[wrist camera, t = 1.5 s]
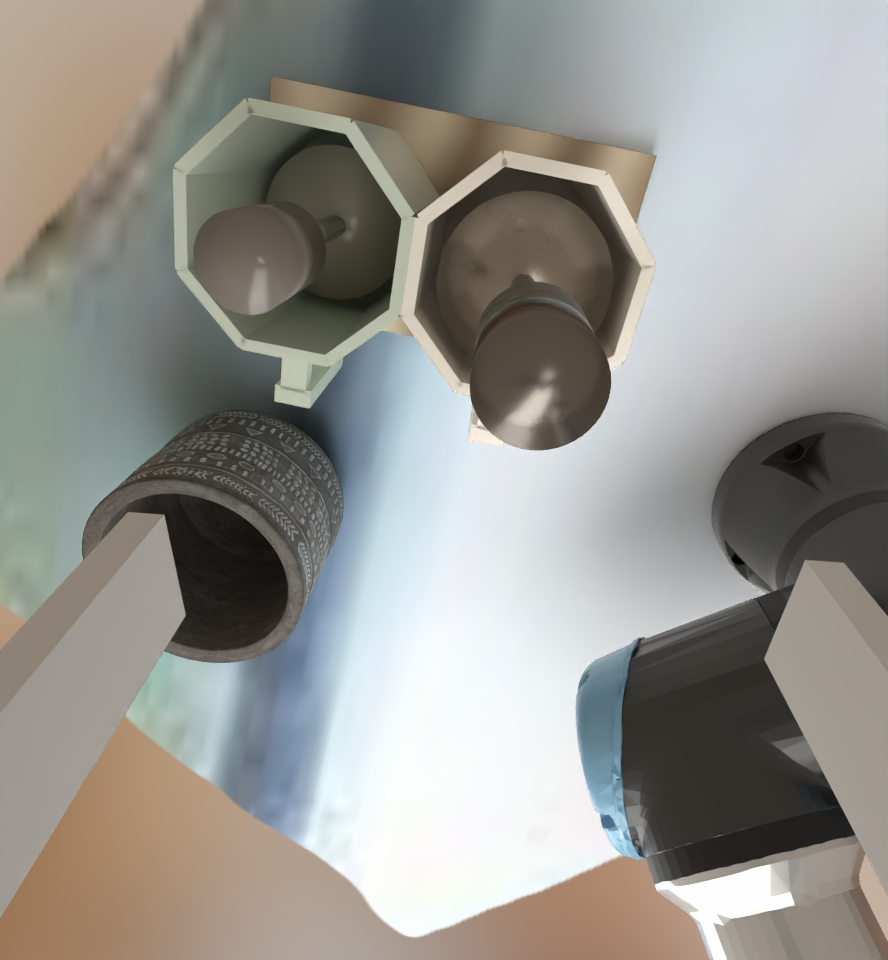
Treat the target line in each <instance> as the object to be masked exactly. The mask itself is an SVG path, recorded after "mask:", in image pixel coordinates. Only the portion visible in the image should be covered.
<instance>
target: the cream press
mask: <svg viewBox="0 0 888 960" xmlns="http://www.w3.org/2000/svg"><path fill="white" fill-rule="evenodd" d="M520 190H535V191H543V192H547V193H551V194H554V195H557V196H560V197H562V198H564V199H566V200H568V201H570V202H571V203H573V204H574V205H576V206H577V207H579V208H580V209H581V210H582V211H584V212H585V213H586V214H587V215H588V216H589V217H590V218H591V219H592V221H593V222H594V223H595V224H596V225H597V227H598V228H599V230H600V232H601V233H602V235H603V237H604V239H605V241H606V243H607V246H608V249H609V252H610V256H611V260H612V267H613V288H612V295H611V299H610V304H609V307H608V310H607V312H606V315H605V317H604V319H603V321H602V323H601V325H600V327H599V328H598V330H597V331H596V333H595V335H596V337H597V339H598V341H599V343H600V345H601V347H602V348H603V350H604V352H605V355H606V357H607V360H608V363H609V366H610V371H611V370H613V369H614V368H616V367H618V366H619V365H621V364H623V362H622V360H624V361H625V360H626V357H627V354H628V351H629V348H630V345H631V342H632V339H633V336H634V333H635V330H636V327H637V324H638V321H639V317H640V314H641V311H642V308H643V305H644V302H645V299H646V296H647V293H648V290H649V287H650V284H651V281H652V278H653V275H654V272H655V269H656V266H654V264H656V262H655V260H654V259H653V257H652V255H651V253H650V251H649V249H648V247H647V245H646V243H645V241H644V239H643V237H642V236H641V234H640V232H639V230H638V228H637V226H636V224H635V222H634V220H633V218H632V216H631V214H630V212H629V211H628V209H627V207H626V205H625V203H624V201H623V199H622V197H621V195H620V193H619V191H618V189H617V188H616V186H615V184H614V182H613V180H612V178H611V176H610V174H609V173H606V171H603V170H598V169H594V168H589V167H584V166H579V165H574V164H569V163H564V162H560V161H555V160H550V159H545V158H540V157H535V156H530V155H526V154H521V153H516V152H511V151H506V150H504V154H502V152H501V151H500V152H499V153H497V154H496V155H495V156H493V157H492V158H491V159H489V160H488V161H487V162H485V163H484V164H483V165H482V166H480V167H479V168H478V169H476V170H475V171H474V172H472V173H471V174H470V175H468V176H467V177H466V178H464V179H463V180H462V181H460V182H459V183H458V184H457V185H455V186H454V187H453V188H451V189H450V190H449V191H447V192H446V193H445V194H443V195H442V196H441V197H439V198H438V199H437V200H435V201H434V202H433V203H432V204H430V205H429V206H428V207H426V208H425V209H424V210H422V211H421V212H420V213H418V214H417V215H418V216H417V217H415V223H414V230H413V237H412V244H411V250H410V257H409V264H408V271H407V277H406V284H405V291H404V298H403V305H402V311H401V315H402V316H403V317H402V320H403V321H404V322H405V324H406V325H407V327H408V328H409V329H410V331H411V332H412V334H413V335H414V337H415V338H416V339H417V341H418V342H419V344H420V345H421V347H422V348H423V349H424V351H425V352H426V354H427V355H428V356H429V358H430V359H431V361H432V362H433V364H434V365H435V366H436V368H437V369H438V371H439V372H440V374H441V375H442V376H443V378H444V379H445V381H446V382H447V383H448V385H449V386H450V388H451V389H452V391H455V390H456V393H458V394H463V395H468V396H470V376H471V369H472V362H473V357H472V356H471V355H469V354H468V353H467V352H466V351H465V350H464V349H462V348H461V347H460V346H459V345H458V343H457V342H456V341H455V340H454V338H453V337H452V336H451V334H450V332H449V331H448V329H447V327H446V325H445V323H444V321H443V318H442V316H441V312H440V309H439V305H438V299H437V287H436V281H437V271H438V266H439V262H440V258H441V255H442V253H443V250H444V247H445V245H446V243H447V241H448V239H449V238H450V236H451V234H452V233H453V231H454V230H455V229H456V227H457V226H458V224H459V223H460V222H461V221H462V220H463V219H464V218H465V217H466V216H467V215H468V214H469V213H470V212H471V211H472V210H474V209H475V208H476V207H478V206H479V205H481V204H482V203H484V202H485V201H487V200H489V199H491V198H494V197H496V196H498V195H502V194H505V193H508V192H514V191H520ZM468 440H469V441H474V442H479V443H484V444H489V445H494V446H499V447H503V446H504V442H503V441H501V440H499V439H498V438H497V437H495V436H494V435H493V434H491V433H490V432H489V431H488V430H487V429H486V428H485V426H484V425H483V424H482V423H481V421H480V420H479V418H478V416H477V415H476V412H475V410H474V408H473V405H472V412H471V420H470V428H469V436H468Z"/></svg>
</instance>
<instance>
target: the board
mask: <svg viewBox="0 0 888 960" xmlns="http://www.w3.org/2000/svg"><path fill="white" fill-rule="evenodd" d="M270 102H273V103H278V104H282V105H287V106H292V107H297V108H302V109H307V110H312V111H316V112H321V113H326V114H331V115H336V116H341V117H346V118H350V119H354V120H358V121H362V122H366V123H370V124H374V125H378V126H381V127H385V128H389V129H393V130H397V132H400V134H401V136H402V137H403V139H404V140H405V142H406V144H407V145H408V147H409V148H410V150H411V152H412V153H413V154H414V155H415V156H416V158H417V159H418V160H419V162H420V163H421V165H422V166H423V168H424V170H425V172H426V173H427V175H428V178H429V180H430V182H431V183H432V185H433V187H434V188H435V190H436V191H437V193H438V194H439V196H440V197H441V196H442V195H443V194H445V193H446V192H447V191H449V190H450V189H451V188H453V187H454V186H455V185H457V184H458V183H459V182H460V181H462V180H463V179H464V178H466V177H467V176H468V175H470V174H471V173H472V172H474V171H475V170H476V169H478V168H479V167H480V166H482V165H483V164H484V163H485V162H487V161H488V160H489V159H491V158H492V157H493V156H495V155H496V154H497V153H499V152H500V151H501V152H502V154H504V150H506V151H511V152H516V153H521V154H526V155H530V156H535V157H540V158H545V159H550V160H555V161H560V162H564V163H569V164H574V165H579V166H584V167H589V168H594V169H598V170H603V171H606V173H609V174H610V176H611V178H612V180H613V182H614V184H615V186H616V188H617V189H618V191H619V193H620V195H621V197H622V199H623V201H624V203H625V205H626V207H627V209H628V211H629V212H630V214H631V216H632V218H633V220H634V222H635V224H636V222H637V218H638V215H639V212H640V208H641V205H642V202H643V199H644V195H645V192H646V189H647V185H648V182H649V179H650V176H651V172H652V169H653V166H654V162H655V159H656V155H651V154H646V153H641V152H637V151H632V150H627V149H622V148H617V147H612V146H607V145H603V144H598V143H593V142H588V141H583V140H578V139H573V138H569V137H564V136H559V135H554V134H549V133H544V132H539V131H535V130H530V129H525V128H520V127H515V126H510V125H505V124H501V123H496V122H491V121H486V120H481V119H476V118H472V117H467V116H462V115H457V114H452V113H447V112H442V111H438V110H433V109H428V108H423V107H418V106H413V105H408V104H404V103H399V102H394V101H389V100H384V99H379V98H374V97H370V96H365V95H360V94H355V93H350V92H345V91H340V90H336V89H331V88H326V87H321V86H316V85H311V84H307V83H302V82H297V81H292V80H287V79H282V78H277V77H273V76H271V82H270ZM402 317H403V316H402V315H401V316H400V318H398V319H397V320H396V321H394V322H393V323H391V324H390V325H388V326H387V327H386V328H384V329H383V331H388V332H393V333H398V334H403V335H408V336H413V337H414V335H413V334H412V332H411V331H410V329H409V328H408V327H407V325H406V324H405V322H404V321H403V320H402Z"/></svg>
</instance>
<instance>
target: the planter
mask: <svg viewBox="0 0 888 960" xmlns="http://www.w3.org/2000/svg"><path fill="white" fill-rule="evenodd" d="M343 508H344V502H343V493H342V488H341V484H340V481H339V478H338V476H337V473H336V471H335V469H334V467H333V465H332V464H331V462H330V460H329V459H328V457H327V456H326V454H325V453H324V451H323V450H322V449H321V448H320V447H319V446H318V444H317V443H316V442H315V441H314V440H313V439H312V438H311V437H309V436H308V435H307V434H306V433H305V432H303V431H302V430H300V429H299V428H297V427H296V426H294V425H292V424H290V423H288V422H286V421H284V420H282V419H279V418H277V417H274V416H271V415H267V414H263V413H258V412H253V411H242V410H233V411H223V412H218V413H214V414H211V415H207V416H205V417H202V418H201V419H199V420H197V421H195V422H193V423H192V424H190V425H189V426H188V427H186V428H185V429H184V430H182V431H181V432H180V433H179V434H177V435H176V436H175V437H174V438H172V439H171V440H170V441H169V442H168V443H167V444H166V445H165V446H164V447H163V448H162V449H161V450H160V451H159V452H158V453H156V454H155V455H154V456H152V457H151V458H150V459H149V460H147V461H146V462H145V463H144V464H142V465H141V466H140V467H139V468H138V469H137V470H136V471H134V472H133V473H132V474H131V475H130V476H129V477H128V478H127V479H126V480H125V481H124V482H123V483H122V484H121V485H119V486H118V487H117V488H116V489H115V490H114V491H112V492H111V493H110V494H109V495H108V496H106V497H105V498H104V499H103V500H102V501H101V502H100V503H99V504H98V505H97V507H96V508H95V509H94V510H93V512H92V513H91V515H90V517H89V519H88V521H87V523H86V526H85V529H84V533H83V539H82V555H83V560H84V559H85V558H86V557H87V556H88V555H89V554H90V553H91V551H92V550H93V549H94V548H95V547H96V546H97V545H98V544H99V543H100V542H101V541H102V540H103V539H104V537H105V536H106V535H107V534H108V533H109V532H110V531H111V530H112V529H113V528H114V527H115V526H116V525H117V523H118V522H119V521H120V520H121V519H122V518H123V517H124V516H125V515H126V514H127V513H128V512H134V513H148V514H162V515H164V516H165V520H166V525H167V530H168V534H169V539H170V544H171V549H172V553H173V558H174V563H175V567H176V572H177V577H178V581H179V586H180V591H181V595H182V600H183V605H184V609H185V614H186V616H185V617H184V619H183V621H182V622H181V624H180V626H179V627H178V629H177V630H176V632H175V634H174V635H173V637H172V639H171V640H170V642H169V643H168V645H167V647H166V648H165V650H164V651H166V652H168V653H170V654H173V655H176V656H179V657H183V658H186V659H191V660H196V661H201V662H211V663H230V662H240V661H245V660H250V659H254V658H257V657H259V656H262V655H264V654H266V653H268V652H270V651H272V650H273V649H275V648H276V647H278V646H279V645H280V644H281V643H283V642H284V641H285V640H286V639H287V638H288V637H289V635H290V634H291V633H292V632H293V630H294V628H295V627H296V625H297V623H298V621H299V619H300V617H301V614H302V612H303V610H304V607H305V605H306V603H307V601H308V598H309V596H310V594H311V592H312V590H313V588H314V585H315V583H316V581H317V578H318V576H319V574H320V571H321V569H322V567H323V564H324V562H325V560H326V558H327V556H328V554H329V552H330V550H331V548H332V546H333V544H334V541H335V539H336V536H337V534H338V531H339V528H340V525H341V522H342V517H343Z"/></svg>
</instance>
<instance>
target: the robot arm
mask: <svg viewBox="0 0 888 960" xmlns="http://www.w3.org/2000/svg"><path fill="white" fill-rule="evenodd" d="M712 525H713V530H714V534H715V536H716V539H717V541H718V543H719V545H720V547H721V549H722V550H723V552H724V554H725V556H726V557H727V559H728V561H729V562H730V563H731V565H732V566H733V567H734V568H735V569H736V571H737V572H738V573H739V574H740V575H742V576H743V577H744V578H745V579H746V580H748V581H749V582H751V583H752V584H754V585H755V586H757V587H758V588H760V589H761V590H763V591H764V592H766V593H767V594H765V595H763V596H760V597H757V598H754V599H751V600H748V601H746V602H743V603H740V604H738V605H735V606H732V607H729V608H727V609H724V610H721V611H719V612H716V613H713V614H711V615H708V616H705V617H703V618H700V619H697V620H695V621H692V622H689V623H687V624H684V625H681V626H679V627H676V628H673V629H671V630H668V631H665V632H663V633H660V634H657V635H655V636H652V637H649V638H645V637H641V638H638V639H636V640H634V641H633V642H632V643H631V644H630V645H628V646H626V647H624V648H622V649H619V650H617V651H615V652H613V653H610V654H608V655H606V656H604V657H601V658H599V659H597V660H595V661H594V662H592V663H591V664H590V665H589V666H588V667H587V668H586V670H585V671H584V673H583V675H582V677H581V680H580V682H579V687H578V694H577V696H576V727H577V737H578V745H579V751H580V756H581V761H582V766H583V771H584V775H585V779H586V783H587V787H588V790H589V794H590V797H591V800H592V803H593V806H594V808H595V810H596V812H598V813H600V818H601V823H602V828H603V830H604V832H605V834H606V836H607V838H608V839H609V841H610V843H611V844H612V845H613V847H614V848H615V849H616V850H617V851H618V852H619V853H620V854H622V855H624V856H627V857H632V858H634V859H637V860H641V859H643V858H646V860H647V863H648V866H649V869H650V872H651V875H652V878H653V881H654V884H655V887H656V890H657V891H658V892H659V893H660V894H662V895H663V896H665V897H666V898H668V899H669V900H670V901H672V902H673V903H675V904H676V905H678V906H679V907H681V908H682V909H683V910H685V911H686V912H688V913H689V915H690V916H691V917H692V918H693V919H694V920H695V921H696V923H697V925H698V928H699V931H700V933H701V936H702V939H703V942H704V944H705V947H706V950H707V953H708V955H709V958H710V960H888V941H887V939H886V937H885V935H884V933H883V931H882V929H881V927H880V925H879V923H878V921H877V919H876V917H875V915H874V914H873V911H872V909H871V907H870V905H869V903H868V901H867V899H866V897H865V895H864V893H863V891H862V889H861V886H860V881H859V873H860V869H861V866H862V862H863V859H864V856H865V854H866V855H867V857H868V859H869V861H870V863H871V865H872V867H873V869H874V871H875V873H876V875H877V877H878V878H879V880H880V882H881V884H882V886H883V888H884V890H885V892H886V894H887V895H888V426H886V425H884V424H882V423H881V422H878V421H876V420H873V419H870V418H867V417H864V416H860V415H853V414H844V413H831V414H819V415H814V416H809V417H804V418H801V419H797V420H794V421H791V422H789V423H786V424H784V425H781V426H779V427H777V428H775V429H773V430H771V431H769V432H768V433H766V434H764V435H763V436H761V437H760V438H758V439H757V440H755V441H754V442H753V443H751V444H750V445H749V446H748V447H747V448H745V449H744V450H743V451H742V452H741V453H740V454H739V455H738V456H737V457H736V459H735V460H734V461H733V462H732V463H731V465H730V466H729V467H728V469H727V470H726V472H725V473H724V475H723V477H722V478H721V480H720V482H719V484H718V487H717V489H716V492H715V496H714V499H713V505H712ZM185 616H186V614H185V609H184V605H183V600H182V595H181V591H180V586H179V581H178V577H177V572H176V567H175V563H174V558H173V553H172V549H171V544H170V539H169V534H168V530H167V525H166V520H165V516H164V515H162V514H148V513H134V512H128V513H127V514H126V515H125V516H124V517H123V518H122V519H121V520H120V521H119V522H118V523H117V525H116V526H115V527H114V528H113V529H112V530H111V531H110V532H109V533H108V534H107V535H106V536H105V537H104V539H103V540H102V541H101V542H100V543H99V544H98V545H97V546H96V547H95V548H94V549H93V550H92V551H91V553H90V554H89V555H88V556H87V557H86V558H85V559H84V560H83V561H82V562H81V563H80V564H79V566H78V567H77V568H76V569H75V570H74V571H73V572H72V573H71V574H70V575H69V576H68V577H67V578H66V580H65V581H64V582H63V583H62V584H61V585H60V586H59V587H58V588H57V589H56V590H55V591H54V593H53V594H52V595H51V596H50V597H49V598H48V599H47V600H46V601H45V602H44V603H43V604H42V605H41V607H40V608H39V609H38V610H37V611H36V612H35V613H34V614H33V615H32V616H31V617H30V618H29V620H28V621H27V622H26V623H25V624H24V625H23V626H22V627H21V628H20V629H19V630H18V631H17V633H16V634H15V635H14V636H13V637H12V638H11V639H10V640H9V641H8V642H7V643H6V644H5V645H4V647H3V648H2V649H1V650H0V918H1V916H2V914H3V912H4V911H5V909H6V908H7V906H8V904H9V903H10V901H11V900H12V898H13V896H14V895H15V893H16V891H17V890H18V888H19V887H20V885H21V883H22V881H23V880H24V878H25V877H26V875H27V873H28V872H29V870H30V869H31V867H32V865H33V864H34V862H35V860H36V859H37V857H38V855H39V854H40V852H41V851H42V849H43V847H44V846H45V844H46V842H47V841H48V839H49V838H50V836H51V834H52V833H53V831H54V829H55V828H56V826H57V825H58V823H59V821H60V820H61V818H62V816H63V815H64V813H65V811H66V810H67V808H68V807H69V805H70V803H71V802H72V800H73V798H74V797H75V795H76V794H77V792H78V790H79V789H80V787H81V785H82V784H83V782H84V780H85V779H86V777H87V776H88V774H89V772H90V771H91V769H92V767H93V766H94V764H95V762H96V761H97V759H98V758H99V756H100V754H101V753H102V751H103V749H104V748H105V746H106V745H107V743H108V741H109V740H110V738H111V736H112V735H113V733H114V732H115V730H116V728H117V726H118V725H119V723H120V722H121V720H122V718H123V717H124V715H125V714H126V712H127V710H128V709H129V707H130V705H131V704H132V702H133V701H134V699H135V697H136V696H137V694H138V692H139V691H140V689H141V687H142V686H143V684H144V683H145V681H146V679H147V678H148V676H149V674H150V673H151V671H152V670H153V668H154V666H155V665H156V663H157V661H158V660H159V658H160V656H161V655H162V653H163V652H164V650H165V648H166V647H167V645H168V643H169V642H170V640H171V639H172V637H173V635H174V634H175V632H176V630H177V629H178V627H179V626H180V624H181V622H182V621H183V619H184V617H185Z"/></svg>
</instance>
